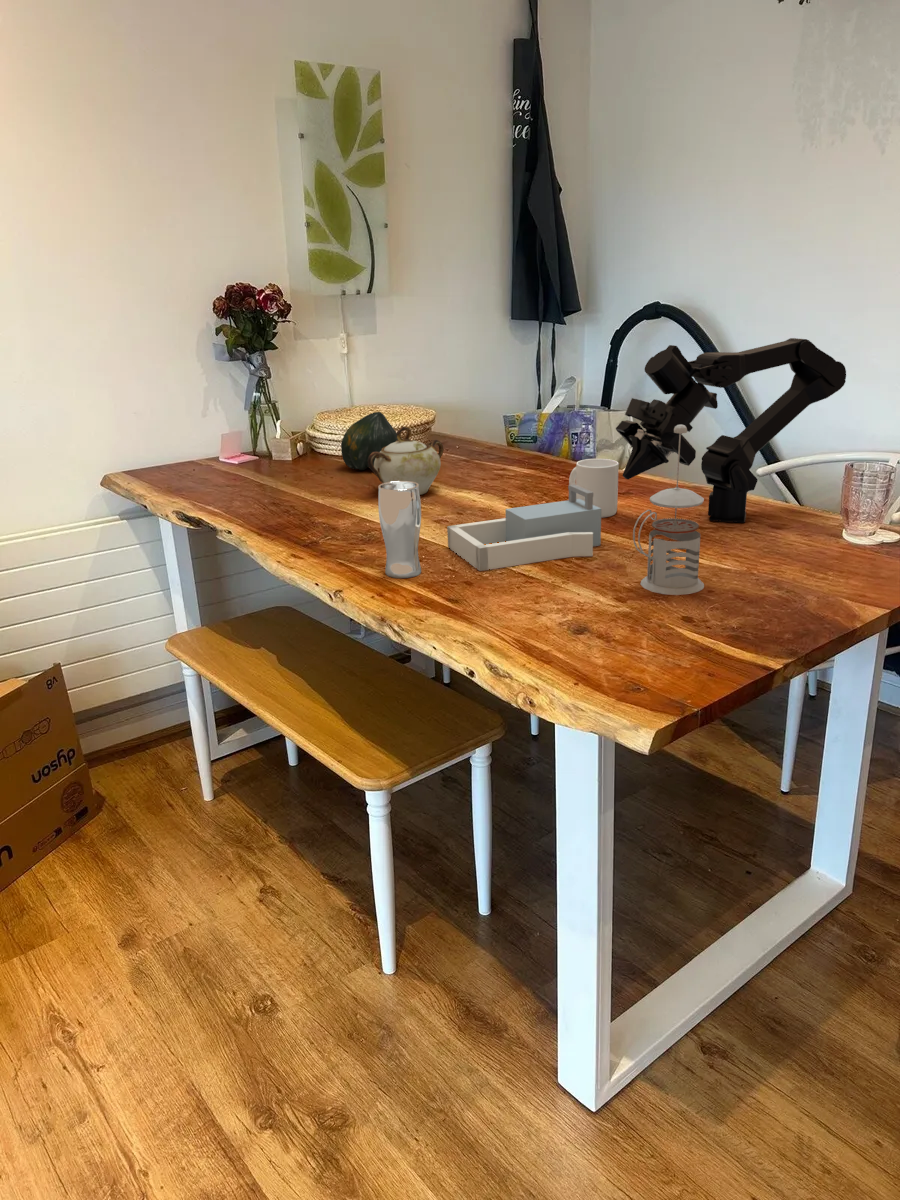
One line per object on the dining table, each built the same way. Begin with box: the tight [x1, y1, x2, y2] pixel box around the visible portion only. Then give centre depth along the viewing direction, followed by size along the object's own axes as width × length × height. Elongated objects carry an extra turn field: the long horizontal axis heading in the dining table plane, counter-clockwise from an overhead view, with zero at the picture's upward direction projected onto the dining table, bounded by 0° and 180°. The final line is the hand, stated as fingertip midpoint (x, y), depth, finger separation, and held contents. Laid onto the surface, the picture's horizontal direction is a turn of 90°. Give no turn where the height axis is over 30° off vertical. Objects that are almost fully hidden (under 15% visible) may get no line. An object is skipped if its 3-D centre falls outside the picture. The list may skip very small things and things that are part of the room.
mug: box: [568, 458, 619, 519], centre depth 182 cm, size 12×8×10 cm
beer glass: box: [377, 481, 422, 579], centre depth 149 cm, size 7×7×15 cm
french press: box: [632, 425, 705, 596], centre depth 137 cm, size 10×12×25 cm
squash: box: [340, 411, 398, 471], centre depth 229 cm, size 14×15×15 cm
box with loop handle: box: [505, 484, 602, 547], centre depth 162 cm, size 15×8×10 cm, turn 111°
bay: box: [446, 517, 594, 572], centre depth 160 cm, size 21×18×4 cm
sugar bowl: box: [368, 426, 444, 496], centre depth 202 cm, size 20×15×15 cm
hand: (624, 477), depth 164 cm, fingers closed
